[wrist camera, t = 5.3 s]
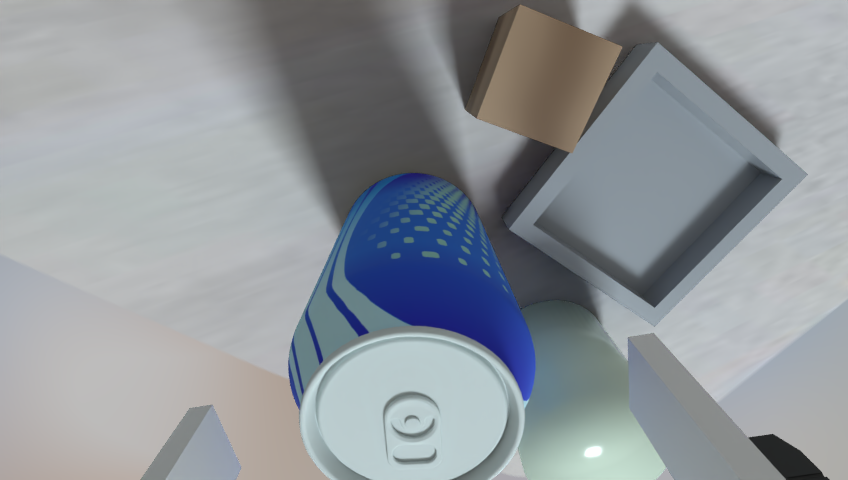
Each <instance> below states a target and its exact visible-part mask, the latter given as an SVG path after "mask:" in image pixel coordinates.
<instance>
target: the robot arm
mask: <svg viewBox="0 0 848 480" xmlns="http://www.w3.org/2000/svg"><path fill="white" fill-rule="evenodd" d="M628 367H629V409H630V410H631V412H632V413H633V415H634V417H635V418H636V420H637V421H638V423H639V425H640V426H641V428H642V429H643V431H644V433H645V434H646V436H647V437H648V439H649V440H650V442H651V444H652V445H653V447H654V448H655V450H656V452H657V453H658V455H659V456H660V458H661V460H662V461H663V463H664V464H665V466H666V468H667V469H668V471H669V472H670V474H671V476H672V477H673V479H674V480H829V479H828V478H827V477H824V476H823V474H822V472H821V471H820V470H819V469H818V468H817V467H816V466H815V465H814V464H813V463H812V462H811V461H810V460H809V459H808V458H807V457H806V456H805V455H804V454H803V453H802V452H801V451H800V450H798V449H797V448H795V447H793V446H792V445H790V444H788V443H787V442H785V441H783V440H782V439H780V438H778V437H777V436H775V435H773V434H770V435H764V436H756V437H749V438H748V437H747V436H746V435H745V434H744V433H743V431H742V430H741V429H740V428H739V427H738V426H737V425H736V424H735V423H734V422H733V420H732V419H731V418H730V417H729V416H728V415H727V414H726V413H725V412H724V411H723V410H722V408H721V407H720V406H719V405H718V404H717V403H716V402H715V401H714V399H713V398H712V397H711V396H710V395H709V394H708V393H707V392H706V391H705V389H704V388H703V387H702V386H701V385H700V384H699V383H698V382H697V381H696V379H695V378H694V377H693V376H692V375H691V374H690V373H689V372H688V371H687V370H686V368H685V367H684V366H683V365H682V364H681V363H680V362H679V361H678V360H677V358H676V357H675V356H674V355H673V354H672V353H671V352H670V351H669V350H668V348H667V347H666V346H665V345H664V344H663V343H662V342H661V341H660V340H659V339H658V337H657V336H656V335H655V334H654V333H651V334H645V335H639V336H633V337H628ZM240 470H241V466H240V463H239V461H238V459H237V457H236V455H235V453H234V450H233V448H232V446H231V444H230V442H229V440H228V437H227V435H226V433H225V431H224V429H223V427H222V424H221V422H220V420H219V418H218V416H217V414H216V411H215V409H214V407H213V405H207V406H201V407H195V408H189V410H188V411H187V413H186V414H185V416H184V417H183V419H182V420H181V422H180V423H179V425H178V426H177V428H176V429H175V430H174V432H173V433H172V435H171V436H170V438H169V439H168V440H167V442H166V443H165V445H164V446H163V448H162V449H161V451H160V452H159V454H158V455H157V456H156V458H155V459H154V461H153V462H152V464H151V465H150V467H149V468H148V470H147V471H146V472H145V474H144V475H143V477H142V478H141V480H236V478H237V476H238V474H239V472H240Z"/></svg>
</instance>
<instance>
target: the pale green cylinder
mask: <svg viewBox="0 0 848 480" xmlns="http://www.w3.org/2000/svg"><path fill="white" fill-rule="evenodd" d="M521 312H522V315H523V317H524V319H525V321H526V324H527V326H528V328H529V331H530V334H531V337H532V341H533V345H534V350H535V358H536V371H535V378H534V385H533V389H532V393H531V395H530V398H529V401H528V403H527V405H526V407H525V423H524V430H523V434H522V438H521V441H520V443H519V446H518V451H519V454H520V458H521V462H522V465H523V469H524V472H525V475H526V477H527V479H528V480H656V479H657V478H658V477H659V476H660V475H661V474H662V472H663V471H664V470H665V468H666V466H665V464H664V463H663V461H662V460H661V458H660V456H659V455H658V453H657V452H656V450H655V448H654V447H653V445H652V444H651V442H650V440H649V439H648V437H647V436H646V434H645V433H644V431H643V429H642V428H641V426H640V425H639V423H638V421H637V420H636V418H635V417H634V415H633V413H632V412H631V410H630V409H629V367H628V361H627V359H626V358H625V356H624V355H623V354H622V352H621V351H620V350H619V348H618V347H617V346H616V344H615V343H614V341H613V340H612V339H611V337H610V336H609V335H608V333H607V332H606V331H605V329H604V328H603V327H602V325H601V324H600V322H599V321H598V320H597V318H596V317H595V316H594V315H593V314H592V313H591V312H590V311H588V310H587V309H586V308H584V307H582V306H580V305H578V304H575V303H572V302H568V301H560V300H551V301H543V302H539V303H535V304H532V305H529V306H527V307H525V308H523V309H521Z"/></svg>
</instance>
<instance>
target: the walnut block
mask: <svg viewBox="0 0 848 480" xmlns="http://www.w3.org/2000/svg"><path fill="white" fill-rule="evenodd" d="M621 49H622V46H620V45H617V44H615V43H613V42H610V41H608V40H605V39H603V38H601V37H598V36H596V35H593V34H591V33H588V32H586V31H584V30H581V29H579V28H576V27H574V26H571V25H569V24H567V23H564V22H562V21H559V20H557V19H555V18H552V17H550V16H547V15H545V14H542V13H540V12H538V11H535V10H533V9H530V8H528V7H525V6H523V5H521V4H520V5H518V6H516V7H515V8H513V9H512V10H510V11H508V12H507V13H505V14H504V15H502V16H500V17H499V19H498V21H497V24H496V27H495V29H494V32H493V35H492V37H491V40H490V43H489V46H488V48H487V51H486V54H485V56H484V59H483V62H482V65H481V67H480V70H479V73H478V75H477V78H476V81H475V84H474V86H473V89H472V92H471V94H470V97H469V100H468V103H467V105H466V108H465V110H466V111H467V112H469V113H470V114H471V115H473V116H474V117H475V118H477V119H480V120H482V121H485V122H488V123H490V124H493V125H496V126H499V127H501V128H504V129H507V130H510V131H512V132H515V133H518V134H520V135H523V136H526V137H529V138H531V139H534V140H537V141H540V142H542V143H545V144H548V145H550V146H553V147H556V148H559V149H561V150H564V151H567V152H570V153H573V151H574V149H575V147H576V145H577V143H578V141H579V138H580V136H581V134H582V132H583V130H584V128H585V126H586V124H587V121H588V119H589V117H590V115H591V113H592V111H593V109H594V107H595V104H596V102H597V100H598V98H599V96H600V94H601V92H602V90H603V87H604V85H605V83H606V81H607V79H608V77H609V75H610V73H611V70H612V68H613V66H614V64H615V62H616V60H617V58H618V56H619V54H620V51H621Z"/></svg>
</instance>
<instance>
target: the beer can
mask: <svg viewBox="0 0 848 480" xmlns="http://www.w3.org/2000/svg"><path fill="white" fill-rule="evenodd" d="M288 365H289V379H290V386H291V389H292V393H293V396H294V399H295V402H296V404H297V406H298V408H299V410H300V411H299V425H300V432H301V436H302V440H303V443H304V445H305V448H306V450H307V452H308V454H309V456H310V457H311V459H312V460H313V461H314V463H315V464H316V465H317V466H318V468H319V469H320V470H321V471H322V472H323V473H324V474H325V475H326V476H327V477H328V478H330V479H331V480H491V479H493V478H494V477H495V476H496V475H497V474H499V473H500V472H501V471H502V470H503V469H504V467H505V466H506V465H507V464H508V463H509V461H510V460H511V458H512V457H513V455H514V454H515V452H516V450H517V448H518V446H519V443H520V441H521V438H522V434H523V430H524V423H525V407H526V405H527V403H528V401H529V398H530V395H531V393H532V389H533V385H534V378H535V371H536V358H535V350H534V345H533V341H532V337H531V334H530V331H529V328H528V326H527V324H526V321H525V319H524V317H523V315H522V312H521V310H520V308H519V306H518V303H517V301H516V299H515V297H514V294H513V292H512V290H511V288H510V285H509V283H508V281H507V279H506V276H505V274H504V272H503V270H502V267H501V265H500V263H499V260H498V258H497V256H496V254H495V251H494V249H493V247H492V245H491V242H490V240H489V238H488V236H487V233H486V231H485V229H484V227H483V224H482V222H481V220H480V218H479V215H478V213H477V211H476V209H475V207H474V206H473V204H472V203H471V201H470V200H469V199H468V197H467V196H466V195H465V194H464V193H463V192H462V191H461V190H459V189H458V188H457V187H456V186H454V185H453V184H451V183H449V182H447V181H446V180H443V179H441V178H439V177H435V176H432V175H428V174H421V173H405V174H399V175H394V176H391V177H388V178H385V179H383V180H381V181H379V182H377V183H375V184H374V185H372V186H371V187H369V188H368V189H367V190H366V191H365V192H364V193H363V194H362V195H361V196H360V197H359V198H358V199H357V200H356V202H355V203H354V205H353V206H352V208H351V210H350V212H349V214H348V216H347V218H346V221H345V223H344V225H343V227H342V229H341V231H340V234H339V236H338V238H337V240H336V242H335V245H334V247H333V249H332V251H331V253H330V255H329V258H328V260H327V262H326V264H325V266H324V269H323V271H322V273H321V275H320V277H319V279H318V282H317V284H316V286H315V288H314V290H313V293H312V295H311V297H310V299H309V301H308V303H307V306H306V308H305V310H304V312H303V314H302V317H301V319H300V321H299V323H298V325H297V328H296V330H295V333H294V336H293V339H292V343H291V347H290V352H289V361H288Z"/></svg>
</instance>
